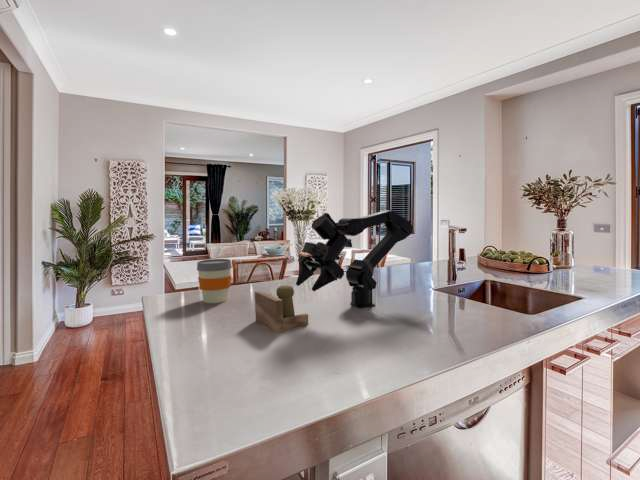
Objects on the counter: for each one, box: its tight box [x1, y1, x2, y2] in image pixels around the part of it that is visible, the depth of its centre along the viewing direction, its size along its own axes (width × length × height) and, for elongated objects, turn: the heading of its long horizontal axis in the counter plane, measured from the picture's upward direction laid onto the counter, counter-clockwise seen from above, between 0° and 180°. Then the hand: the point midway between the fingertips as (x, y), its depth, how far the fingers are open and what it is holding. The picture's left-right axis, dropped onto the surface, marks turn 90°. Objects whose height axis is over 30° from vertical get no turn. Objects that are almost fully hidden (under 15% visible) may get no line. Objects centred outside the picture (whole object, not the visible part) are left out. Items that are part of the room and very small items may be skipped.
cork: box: [275, 285, 296, 318], centre depth 102 cm, size 6×6×11 cm
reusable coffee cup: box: [196, 258, 232, 304], centre depth 129 cm, size 13×13×15 cm
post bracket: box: [254, 290, 309, 334], centre depth 101 cm, size 11×14×9 cm
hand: (304, 287), depth 105 cm, fingers open, 9 cm apart
